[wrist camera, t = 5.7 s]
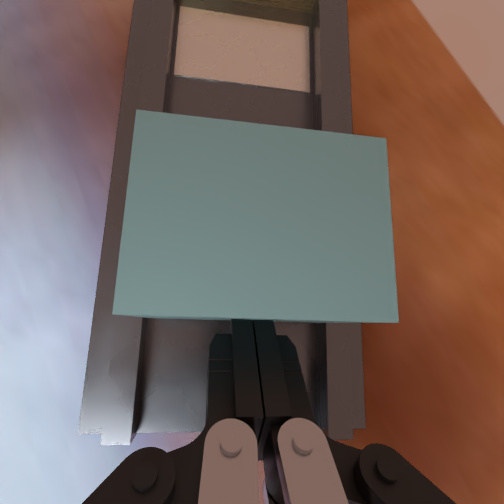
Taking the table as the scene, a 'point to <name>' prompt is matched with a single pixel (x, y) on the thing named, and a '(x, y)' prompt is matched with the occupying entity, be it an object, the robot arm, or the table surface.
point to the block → (255, 224)
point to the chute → (228, 108)
